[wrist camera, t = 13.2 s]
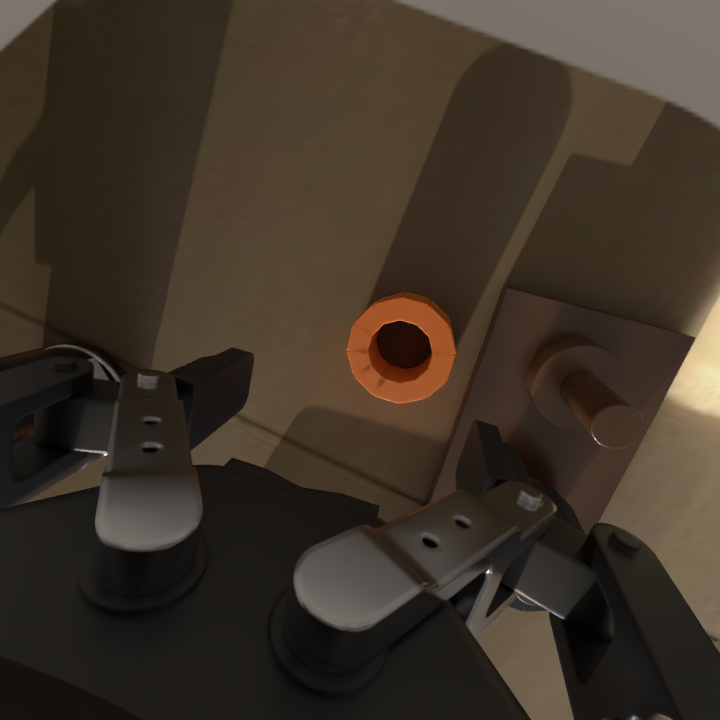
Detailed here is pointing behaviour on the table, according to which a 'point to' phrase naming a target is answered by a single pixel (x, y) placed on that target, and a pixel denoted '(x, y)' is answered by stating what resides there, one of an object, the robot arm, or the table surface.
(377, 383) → the orange tape
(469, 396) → the tape rack
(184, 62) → the table surface
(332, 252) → the table surface
